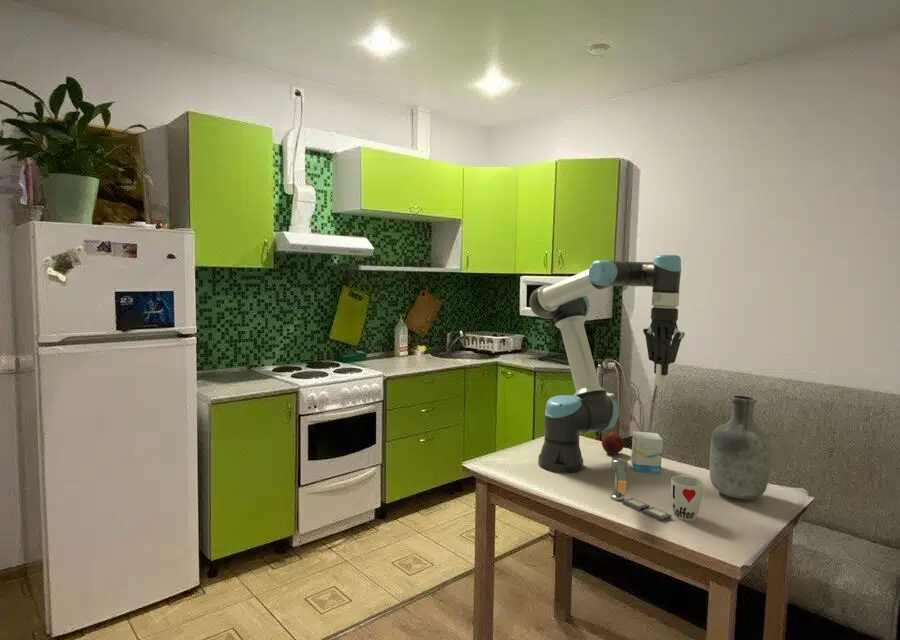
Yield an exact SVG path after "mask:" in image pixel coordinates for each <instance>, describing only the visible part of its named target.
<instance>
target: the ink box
mask: <svg viewBox="0 0 900 640" xmlns="http://www.w3.org/2000/svg"><path fill="white" fill-rule="evenodd" d="M663 441H664V440H663V438H662V437H661V436H660V434H659V433H657V432H647V431H632V444H631V445H632V446H631V455H630V457H631V459H630V463H631V466H632V469H633V470H634V472H638V473H647V474H649V473H651V474H661V472H662V456H663V443H664V442H663Z"/></svg>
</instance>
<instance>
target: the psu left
mask: <svg viewBox="0 0 900 640" xmlns="http://www.w3.org/2000/svg"><path fill="white" fill-rule="evenodd" d="M622 505H624V506H627V507H629V508H630V509H633V510H635V511H637V512H639V513H640V512H641V513H643V510H644V509H647V508H651V507H650V504H647V503H644V502H643V501H640V500H638V499H635V498H634V497H630V498H627V499H625V500H623V501H622Z"/></svg>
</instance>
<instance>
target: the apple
mask: <svg viewBox="0 0 900 640" xmlns="http://www.w3.org/2000/svg"><path fill="white" fill-rule="evenodd" d="M601 446H602V449H603V450H604V451H605V452H606V453H607V454H608V455H611V456H612V455H616V454H617V455H619V453H620V452H622V450H623V449H624V447H625V443H624V440H623V438H622V437H621V436H620V435H619V434H618V433H617V432H613V431H610V432H609V433H608V434H607V435H605V436H604V437H603V438H602V439H601Z"/></svg>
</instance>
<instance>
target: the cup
mask: <svg viewBox="0 0 900 640" xmlns="http://www.w3.org/2000/svg"><path fill="white" fill-rule="evenodd" d="M670 478H671V479H670V495H671V496H670V497H671V505H672V509H673V514H674V516H675V518H677V519H679V520H681V521H684V522H685V521H686V522H693V521H695V519H696V518H697V515H698V514H699V510H700V507H701V502H702V499H703V493H704V487H705V483H704V482H703V481H702V480H700V479H699V478H696V477H692V476H687V475H675V476H672V477H670Z"/></svg>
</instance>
